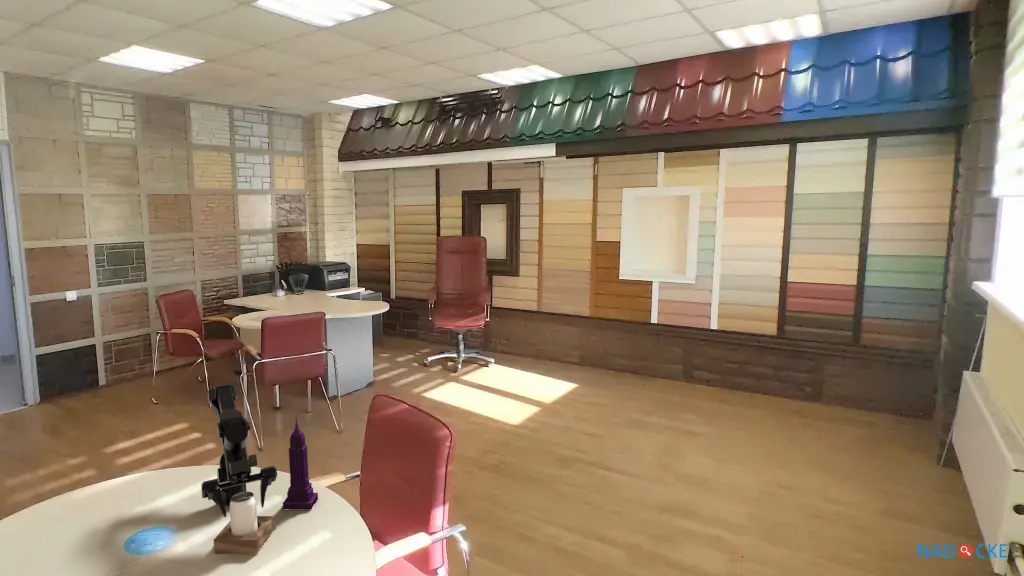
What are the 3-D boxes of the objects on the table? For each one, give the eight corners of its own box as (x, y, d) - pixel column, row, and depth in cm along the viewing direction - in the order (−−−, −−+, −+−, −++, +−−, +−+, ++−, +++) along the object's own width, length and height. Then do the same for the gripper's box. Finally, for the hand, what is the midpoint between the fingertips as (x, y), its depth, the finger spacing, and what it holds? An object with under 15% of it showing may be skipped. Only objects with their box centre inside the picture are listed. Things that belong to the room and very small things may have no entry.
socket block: (235, 528, 161) (234, 515, 161) (275, 529, 161) (274, 516, 161) (214, 553, 150) (213, 539, 149) (257, 553, 150) (256, 540, 149)
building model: (318, 499, 177) (314, 407, 173) (311, 510, 171) (306, 415, 166) (291, 498, 178) (285, 407, 173) (282, 510, 171) (276, 415, 167)
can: (259, 539, 154) (256, 498, 153) (233, 547, 151) (230, 505, 149) (256, 528, 160) (253, 488, 158) (231, 534, 157) (228, 494, 155)
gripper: (198, 454, 150) (205, 512, 143) (274, 438, 160) (283, 492, 153) (199, 469, 158) (205, 525, 151) (270, 454, 168) (279, 506, 161)
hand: (244, 511), depth 154 cm, fingers open, 9 cm apart
